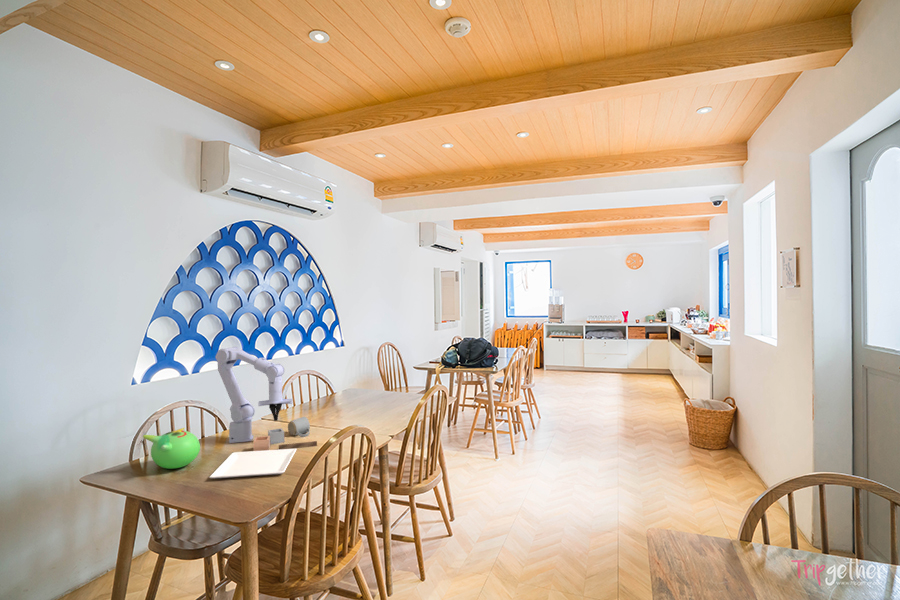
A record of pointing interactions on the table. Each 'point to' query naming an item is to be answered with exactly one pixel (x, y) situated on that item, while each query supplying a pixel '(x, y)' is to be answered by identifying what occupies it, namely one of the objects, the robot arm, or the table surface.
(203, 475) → the table surface
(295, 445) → the walnut strip
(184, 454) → the green teapot
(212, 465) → the table surface
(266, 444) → the terracotta pot
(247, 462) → the plate
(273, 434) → the slate pot
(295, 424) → the ceramic mug
